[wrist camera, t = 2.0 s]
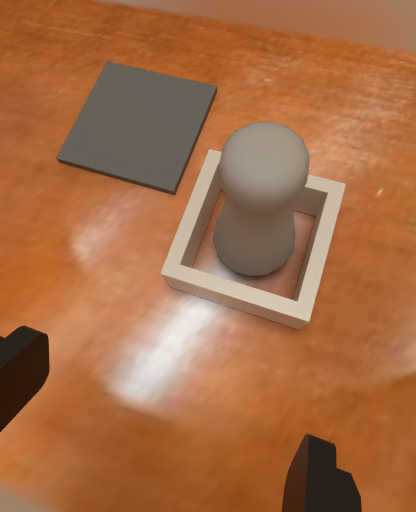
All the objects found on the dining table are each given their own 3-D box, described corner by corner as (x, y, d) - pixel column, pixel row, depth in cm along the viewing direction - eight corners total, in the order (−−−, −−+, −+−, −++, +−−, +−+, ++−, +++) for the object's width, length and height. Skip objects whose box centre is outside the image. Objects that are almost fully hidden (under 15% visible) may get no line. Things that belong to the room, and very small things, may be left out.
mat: (59, 162, 33) (56, 158, 32) (109, 66, 36) (107, 61, 35) (174, 194, 31) (173, 191, 30) (217, 91, 34) (216, 86, 33)
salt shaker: (203, 266, 29) (178, 183, 16) (231, 204, 30) (228, 84, 18) (275, 295, 28) (306, 229, 15) (300, 228, 29) (348, 119, 17)
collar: (170, 287, 28) (160, 273, 25) (212, 176, 31) (209, 149, 27) (298, 329, 27) (309, 321, 23) (331, 208, 29) (345, 184, 26)
